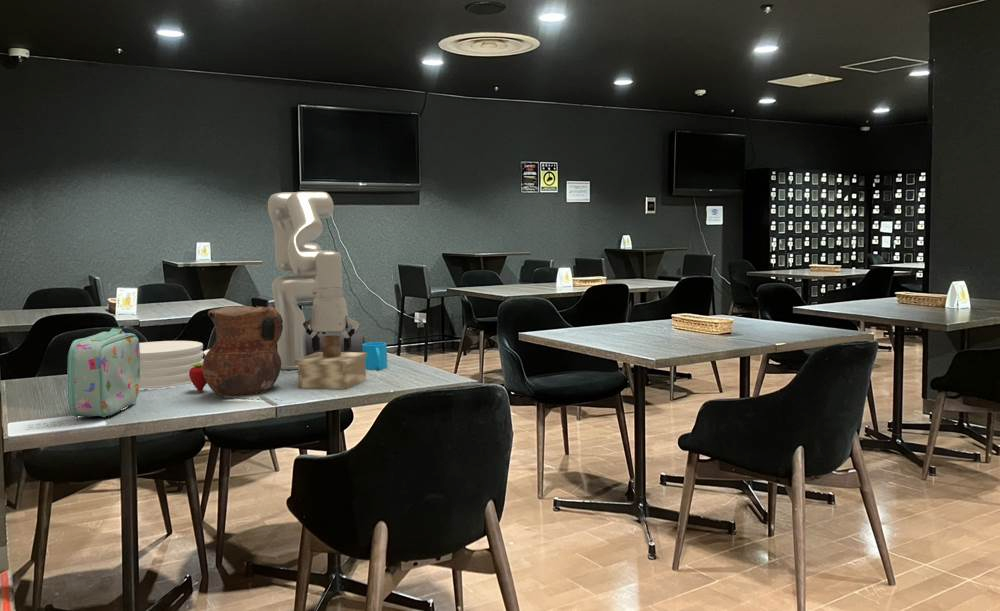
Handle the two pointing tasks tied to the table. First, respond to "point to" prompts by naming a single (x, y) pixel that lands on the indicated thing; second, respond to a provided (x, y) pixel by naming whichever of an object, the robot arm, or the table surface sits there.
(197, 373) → the strawberry
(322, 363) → the lid
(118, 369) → the lunch box
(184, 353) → the plate stack
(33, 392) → the table surface
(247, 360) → the jug
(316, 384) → the storage box
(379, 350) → the mug
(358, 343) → the bluetooth speaker
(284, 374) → the table surface
